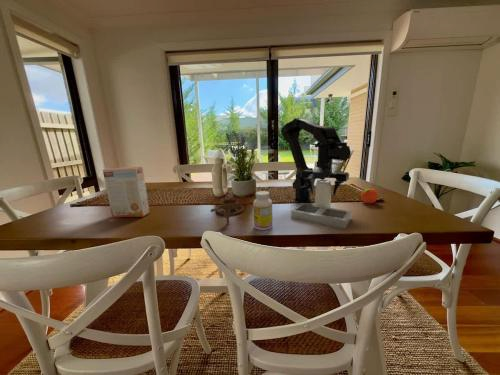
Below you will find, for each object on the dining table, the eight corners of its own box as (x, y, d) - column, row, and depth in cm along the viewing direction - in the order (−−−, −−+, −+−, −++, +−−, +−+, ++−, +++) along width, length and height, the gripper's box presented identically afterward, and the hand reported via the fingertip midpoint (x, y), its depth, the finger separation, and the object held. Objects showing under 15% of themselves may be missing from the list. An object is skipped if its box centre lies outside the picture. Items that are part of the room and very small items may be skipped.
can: (331, 210, 92) (333, 183, 89) (315, 210, 93) (316, 182, 90) (329, 205, 98) (330, 179, 95) (314, 205, 99) (315, 179, 96)
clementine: (369, 207, 94) (370, 191, 92) (355, 202, 100) (356, 188, 98) (380, 203, 98) (382, 188, 96) (366, 199, 104) (367, 185, 102)
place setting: (254, 210, 97) (254, 197, 96) (230, 227, 80) (229, 212, 79) (222, 205, 105) (221, 193, 104) (194, 220, 88) (192, 206, 87)
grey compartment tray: (291, 217, 86) (291, 210, 85) (301, 209, 94) (301, 203, 93) (344, 229, 74) (345, 220, 74) (351, 218, 83) (351, 211, 82)
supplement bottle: (253, 223, 81) (252, 190, 78) (270, 222, 82) (270, 189, 79) (255, 231, 75) (253, 195, 72) (274, 230, 76) (273, 194, 72)
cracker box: (150, 212, 98) (143, 166, 92) (143, 217, 92) (135, 168, 87) (120, 212, 99) (111, 167, 93) (111, 217, 93) (101, 169, 88)
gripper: (295, 159, 89) (295, 196, 93) (344, 162, 78) (341, 203, 82) (305, 156, 98) (305, 190, 102) (350, 158, 87) (347, 195, 91)
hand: (323, 194), depth 94 cm, fingers open, 9 cm apart
